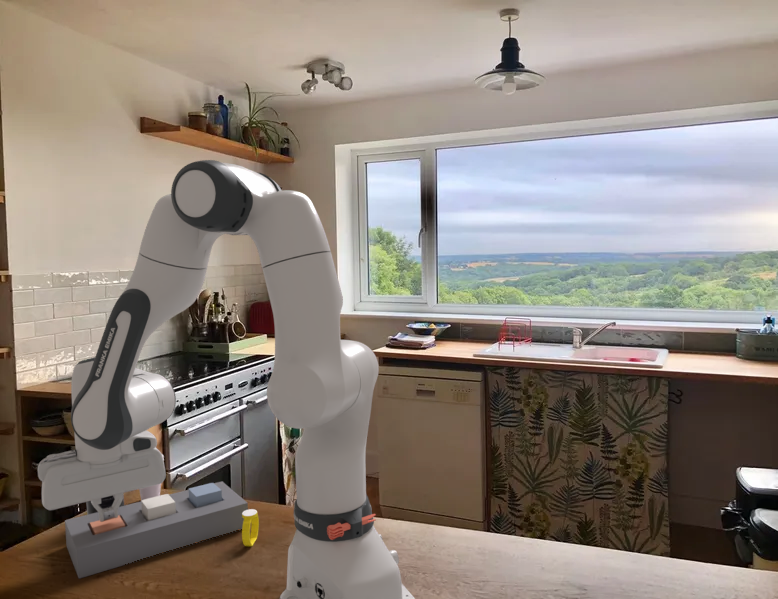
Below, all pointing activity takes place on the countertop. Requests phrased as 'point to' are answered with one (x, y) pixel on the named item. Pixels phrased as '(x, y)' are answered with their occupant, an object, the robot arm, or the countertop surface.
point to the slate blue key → (204, 495)
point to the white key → (158, 507)
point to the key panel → (150, 531)
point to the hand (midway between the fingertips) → (108, 518)
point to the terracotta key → (106, 525)
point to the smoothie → (150, 490)
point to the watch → (249, 519)
